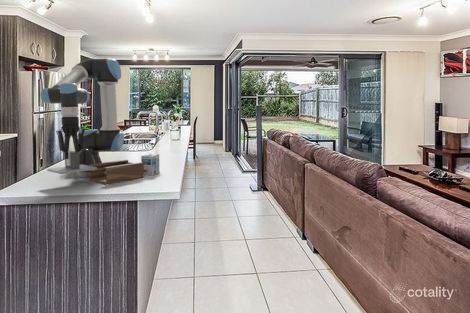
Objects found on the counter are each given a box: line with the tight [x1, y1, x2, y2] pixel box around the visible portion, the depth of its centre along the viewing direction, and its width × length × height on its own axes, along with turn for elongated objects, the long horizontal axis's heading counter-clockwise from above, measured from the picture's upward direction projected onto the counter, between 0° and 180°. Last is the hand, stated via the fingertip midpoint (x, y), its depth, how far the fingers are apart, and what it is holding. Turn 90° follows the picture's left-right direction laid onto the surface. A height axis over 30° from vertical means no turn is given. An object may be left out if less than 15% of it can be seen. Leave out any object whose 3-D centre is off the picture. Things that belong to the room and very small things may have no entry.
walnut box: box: [89, 159, 145, 185], centre depth 204 cm, size 16×22×8 cm
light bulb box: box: [140, 153, 160, 176], centre depth 220 cm, size 11×7×11 cm, turn 168°
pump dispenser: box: [76, 149, 95, 179], centre depth 209 cm, size 10×10×15 cm
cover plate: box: [47, 150, 97, 175], centre depth 188 cm, size 13×18×9 cm
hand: (72, 164), depth 188 cm, fingers closed on cover plate, 3 cm apart
